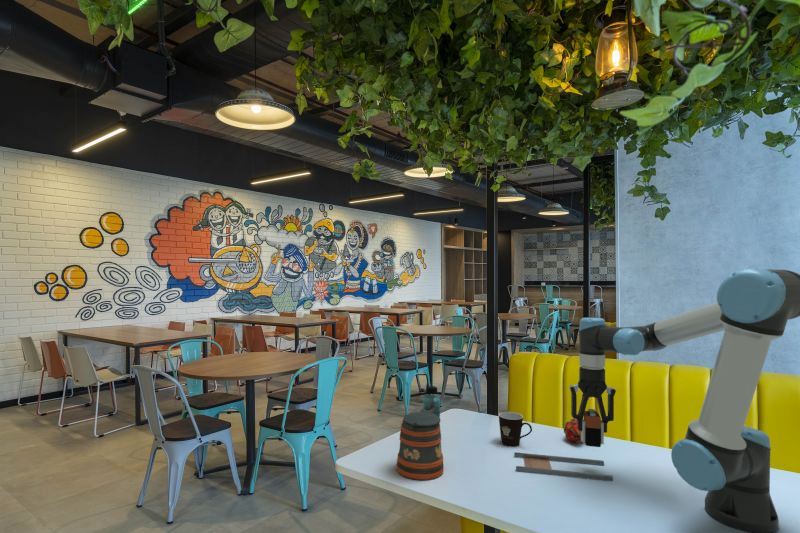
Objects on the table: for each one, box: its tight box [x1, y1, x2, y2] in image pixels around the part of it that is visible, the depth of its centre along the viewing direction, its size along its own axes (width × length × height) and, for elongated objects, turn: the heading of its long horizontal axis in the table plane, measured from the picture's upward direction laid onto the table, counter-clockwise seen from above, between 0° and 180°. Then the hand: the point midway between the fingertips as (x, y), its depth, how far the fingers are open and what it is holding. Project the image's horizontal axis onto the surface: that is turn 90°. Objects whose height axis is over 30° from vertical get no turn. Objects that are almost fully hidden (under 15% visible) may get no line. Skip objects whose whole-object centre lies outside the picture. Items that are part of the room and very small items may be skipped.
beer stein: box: [395, 398, 445, 481], centre depth 143 cm, size 19×15×20 cm
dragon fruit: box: [563, 418, 583, 445], centre depth 167 cm, size 8×8×12 cm
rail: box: [513, 452, 614, 482], centre depth 144 cm, size 12×28×1 cm, turn 79°
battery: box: [583, 408, 602, 448], centre depth 142 cm, size 4×7×10 cm, turn 163°
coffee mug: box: [498, 411, 533, 448], centre depth 162 cm, size 12×9×10 cm
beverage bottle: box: [422, 385, 441, 425], centre depth 163 cm, size 6×7×20 cm
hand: (592, 441), depth 142 cm, fingers closed on battery, 5 cm apart
